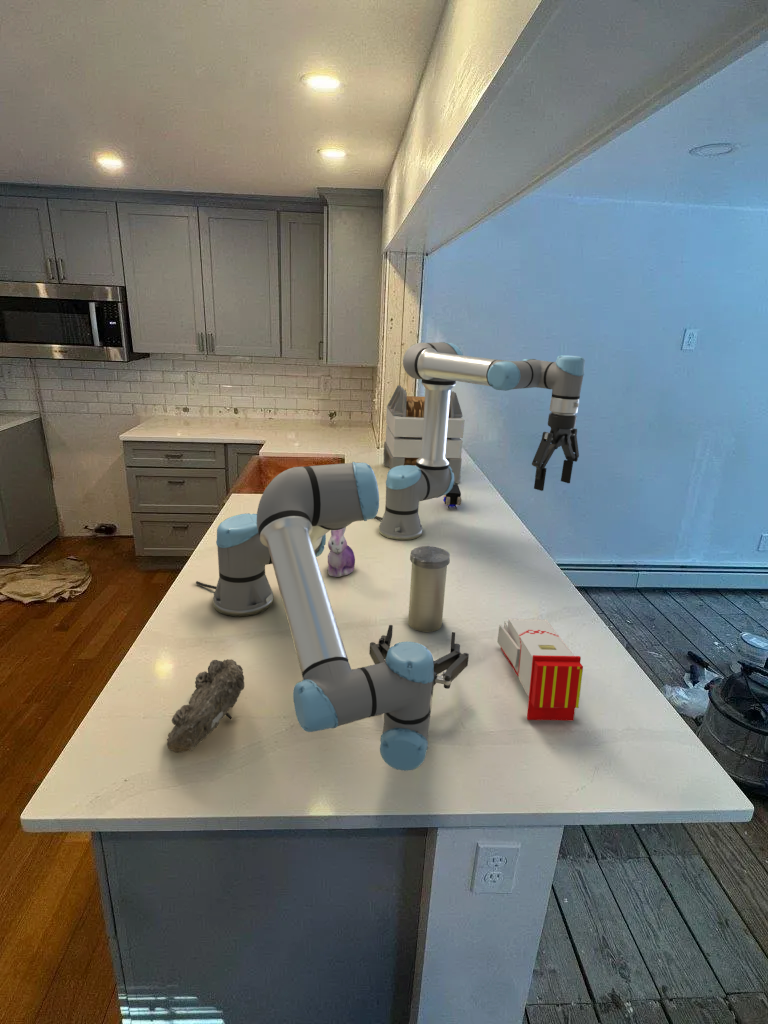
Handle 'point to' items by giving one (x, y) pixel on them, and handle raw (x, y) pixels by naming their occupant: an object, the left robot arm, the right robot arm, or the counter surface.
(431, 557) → the lid
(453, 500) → the figurine character
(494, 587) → the counter surface
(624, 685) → the counter surface
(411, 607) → the jar
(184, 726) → the fossil
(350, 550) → the figurine
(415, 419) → the white wooden box
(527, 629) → the toy
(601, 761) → the counter surface
